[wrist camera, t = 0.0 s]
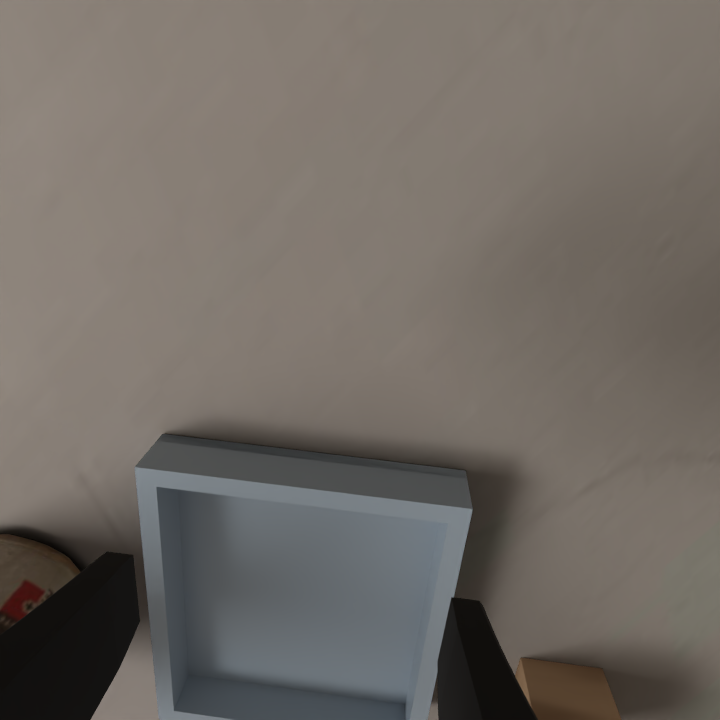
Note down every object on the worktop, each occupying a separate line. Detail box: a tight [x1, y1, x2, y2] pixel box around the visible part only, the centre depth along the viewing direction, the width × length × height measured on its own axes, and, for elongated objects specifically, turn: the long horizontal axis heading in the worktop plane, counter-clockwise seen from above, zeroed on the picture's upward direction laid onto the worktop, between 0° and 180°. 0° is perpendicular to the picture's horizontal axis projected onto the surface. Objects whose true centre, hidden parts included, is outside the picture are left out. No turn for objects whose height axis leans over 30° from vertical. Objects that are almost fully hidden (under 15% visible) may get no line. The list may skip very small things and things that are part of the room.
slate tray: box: [135, 434, 473, 720], centre depth 24 cm, size 15×13×2 cm
